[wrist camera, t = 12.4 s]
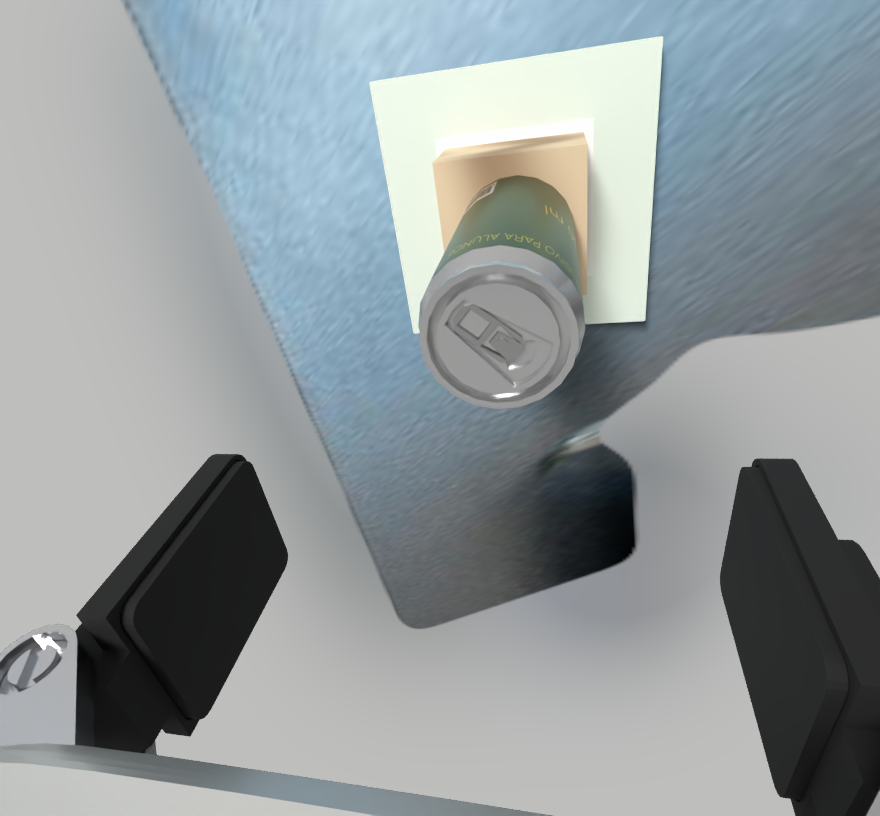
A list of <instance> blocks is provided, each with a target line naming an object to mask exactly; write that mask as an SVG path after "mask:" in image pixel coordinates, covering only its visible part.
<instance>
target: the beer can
mask: <svg viewBox="0 0 880 816" xmlns="http://www.w3.org/2000/svg"><path fill="white" fill-rule="evenodd" d="M418 327H419V331H420V335H419V342H420V346H421V350H422V354H423V358H424V362H425V363H426V365H427V366H428V368H429V369H430V371H431V373H432V374H433V376H434V377H435V379H436V380H437V381H438V382H439V383H440V384H441V385H442V386H444V387H445V388H446V389H447V390H448V391H449V392H451V393H452V394H453V395H455V396H457V397H459V398H461V399H463V400H465V401H467V402H469V403H472V404H474V405H478V406H484V407H490V408H495V409H501V408H512V407H521V406H524V405H526V404H529V403H532V402H534V401H537V400H540V399H542V398H543V397H545V396H546V395H547V394H549V393H550V392H551V391H553V390H554V389H555V388H557V387H558V386H559V385H560V384H561V383H562V381H563V380H564V379H565V377H566V376H567V374H568V373H569V371H570V370H571V368H572V367H573V365H574V361H575V358H576V357H577V355H578V354H579V351H580V348H581V344H582V340H583V337H584V333H585V320H584V308H583V298H582V289H581V280H580V272H579V263H578V254H577V245H576V236H575V228H574V219H573V215H572V213H571V210H570V208H569V206H568V204H567V201H566V200H565V198H564V197H563V196H562V195H561V194H560V193H559V192H558V191H557V190H556V189H555V188H554V187H553V186H552V185H550V184H548V183H546V182H544V181H542V180H540V179H538V178H535V177H528V176H521V175H515V176H510V177H505V178H499V179H497V180H496V181H494V182H492V183H490V184H489V185H487V186H485V187H483V188H482V189H481V190H480V191H479V192H478V193H477V195H476V196H475V197H474V198H473V199H472V200H471V201H470V203H469V205H468V207H467V209H466V211H465V213H464V215H463V217H462V219H461V221H460V223H459V225H458V227H457V229H456V231H455V233H454V235H453V237H452V239H451V241H450V242H449V244H448V246H447V248H446V250H445V252H444V254H443V256H442V258H441V260H440V262H439V264H438V266H437V268H436V270H435V272H434V274H433V276H432V278H431V280H430V283H429V285H428V287H427V289H426V291H425V294H424V296H423V298H422V300H421V302H420V312H419V323H418Z"/></svg>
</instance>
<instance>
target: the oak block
mask: <svg viewBox="0 0 880 816" xmlns="http://www.w3.org/2000/svg"><path fill="white" fill-rule="evenodd" d="M587 152H588V144H587V141H586V138H585V135H584V132H577V133H569V134H561V135H553V136H545V137H537V138H529V139H521V140H513V141H505V142H497V143H489V144H481V145H473V146H465V147H457V148H449V149H445V150H444V151H443V152H442V153H441V154H440V155H439V157H438V158H437V159H436V160H435V161H434V162H433V163H432V165H433V172H434V180H435V187H436V195H437V202H438V210H439V217H440V224H441V232H442V239H443V247H444V252H445V250H446V248H447V246H448V244H449V242H450V241H451V239H452V237H453V235H454V233H455V231H456V229H457V227H458V225H459V223H460V221H461V219H462V217H463V215H464V213H465V211H466V209H467V207H468V205H469V203H470V201H471V200H472V199H473V198H474V197H475V196H476V195H477V193H478V192H479V191H480V190H481V189H482V188H483V187H485V186H487V185H489V184H490V183H492V182H494V181H496V180H497V179H499V178H505V177H510V176H515V175H521V176H528V177H535V178H538V179H540V180H542V181H544V182H546V183H548V184H550V185H552V186H553V187H554V188H555V189H556V190H557V191H558V192H559V193H560V194H561V195H562V196H563V197H564V198H565V200H566V201H567V204H568V206H569V208H570V210H571V213H572V215H573V219H574V228H575V236H576V245H577V254H578V263H579V272H580V280H581V289H582V295H587Z"/></svg>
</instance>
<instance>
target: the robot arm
mask: <svg viewBox="0 0 880 816" xmlns="http://www.w3.org/2000/svg"><path fill="white" fill-rule="evenodd" d="M287 560H288V553H287V549H286V546H285V544H284V541H283V539H282V536H281V534H280V531H279V529H278V526H277V524H276V521H275V519H274V517H273V514H272V511H271V509H270V507H269V504H268V502H267V499H266V497H265V495H264V492H263V489H262V487H261V484H260V482H259V479H258V477H257V475H256V472H255V470H254V467H253V465H252V464H251V463H250V462H248V461H246V459H245V458H244V457H243V456H242V455H237V454H215V455H212V456H211V457H209V458H208V459H207V461H206V462H205V463H204V464H203V465H202V467H201V468H200V469H199V470H198V471H197V472H196V474H195V475H194V476H193V477H192V478H191V480H190V481H189V482H188V483H187V484H186V486H185V487H184V488H183V489H182V490H181V492H180V493H179V494H178V495H177V496H176V497H175V499H174V500H173V501H172V502H171V503H170V505H169V506H168V507H167V508H166V509H165V510H164V512H163V513H162V514H161V515H160V517H159V518H158V519H157V520H156V521H155V522H154V524H153V525H152V526H151V527H150V528H149V529H148V531H147V532H146V533H145V534H144V535H143V537H142V538H141V539H140V540H139V541H138V542H137V544H136V545H135V546H134V547H133V548H132V550H131V551H130V552H129V553H128V555H127V556H126V557H125V558H124V559H123V560H122V561H121V563H120V564H119V565H118V566H117V567H116V569H115V570H114V571H113V572H112V573H111V575H110V576H109V577H108V578H107V579H106V581H105V582H104V583H103V584H102V585H101V586H100V588H99V589H98V590H97V591H96V592H95V594H94V595H93V596H92V597H91V598H90V599H89V601H88V602H87V603H86V604H85V605H84V607H83V608H82V609H81V610H80V611H79V613H78V614H77V617H78V618H79V620H80V621H81V622H82V624H81V625H80V626H79V627H78V629H77V630H76V631H75V630H73V629H72V628H71V627H70V626H67V625H62V624H55V625H47V626H45V627H42V628H39V629H36V630H33V631H31V632H30V633H28V634H26V635H24V636H22V637H20V638H19V639H18V640H16V641H15V642H13V643H12V644H11V645H9V646H8V647H7V648H5V649H4V650H3V651H2V652H1V653H0V816H551V815H544V814H538V813H532V812H526V811H520V810H513V809H507V808H501V807H494V806H488V805H482V804H475V803H469V802H462V801H457V800H450V799H444V798H437V797H431V796H424V795H418V794H411V793H404V792H398V791H392V790H385V789H379V788H372V787H366V786H359V785H352V784H346V783H340V782H333V781H326V780H320V779H313V778H307V777H300V776H294V775H287V774H281V773H274V772H267V771H261V770H253V769H247V768H240V767H233V766H227V765H219V764H213V763H206V762H200V761H193V760H186V759H179V758H173V757H165V756H159V755H157V754H156V745H155V739H156V738H157V736H158V734H159V732H160V730H161V729H163V730H164V732H165V733H169V734H176V735H184V736H191V734H192V732H193V730H194V729H195V727H196V725H197V723H198V721H199V719H203V718H204V717H205V716H206V715H207V714H208V713H209V711H210V710H211V708H212V706H213V704H214V702H215V701H216V699H217V697H218V695H219V693H220V691H221V689H222V687H223V685H224V683H225V682H226V680H227V678H228V676H229V674H230V672H231V670H232V668H233V666H234V665H235V663H236V661H237V659H238V657H239V655H240V653H241V651H242V649H243V647H244V645H245V643H246V642H247V640H248V638H249V636H250V634H251V632H252V630H253V628H254V627H255V625H256V623H257V621H258V619H259V617H260V615H261V613H262V611H263V609H264V608H265V605H266V604H267V602H268V600H269V598H270V596H271V594H272V592H273V590H274V589H275V587H276V585H277V583H278V581H279V579H280V577H281V575H282V573H283V571H284V570H285V567H286V564H287ZM720 585H721V592H722V596H723V600H724V604H725V607H726V611H727V614H728V618H729V622H730V625H731V629H732V633H733V636H734V640H735V643H736V647H737V651H738V655H739V658H740V662H741V666H742V669H743V673H744V676H745V680H746V684H747V688H748V691H749V695H750V699H751V702H752V705H753V710H754V713H755V717H756V720H757V724H758V728H759V731H760V735H761V739H762V743H763V746H764V749H765V754H766V757H767V761H768V764H769V768H770V772H771V775H772V779H773V782H774V786H775V789H776V790H777V793H778V794H779V796H780V797H783V798H790V799H791V802H792V805H793V809H794V812H795V815H796V816H880V579H879V577H878V575H877V573H876V571H875V570H874V568H873V566H872V564H871V563H870V561H869V559H868V557H867V556H866V554H865V552H864V551H863V549H862V548H861V547H860V545H859V544H857V543H856V542H854V541H853V540H838V539H837V537H836V535H835V533H834V531H833V529H832V527H831V525H830V523H829V522H828V520H827V518H826V516H825V514H824V512H823V510H822V508H821V507H820V505H819V503H818V501H817V499H816V497H815V495H814V493H813V492H812V490H811V488H810V486H809V484H808V482H807V480H806V479H805V476H804V475H803V473H802V471H801V469H800V467H799V465H798V464H797V462H796V461H795V460H793V459H755V460H754V461H753V463H752V467H742V468H741V470H740V474H739V479H738V484H737V489H736V494H735V500H734V505H733V510H732V516H731V520H730V525H729V531H728V536H727V541H726V546H725V552H724V557H723V562H722V567H721V574H720Z"/></svg>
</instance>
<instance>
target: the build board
mask: <svg viewBox="0 0 880 816" xmlns="http://www.w3.org/2000/svg"><path fill="white" fill-rule="evenodd" d="M662 46H663V36H659V37H653V38H646V39H640V40H633V41H627V42H621V43H614V44H608V45H601V46H595V47H589V48H582V49H576V50H569V51H563V52H557V53H550V54H544V55H537V56H531V57H525V58H518V59H512V60H505V61H499V62H492V63H486V64H480V65H473V66H467V67H460V68H454V69H448V70H441V71H435V72H428V73H422V74H416V75H409V76H403V77H396V78H390V79H384V80H377V81H372V82H369V84H370V89H371V95H372V101H373V106H374V112H375V118H376V123H377V129H378V135H379V140H380V146H381V152H382V157H383V163H384V168H385V174H386V180H387V185H388V191H389V197H390V202H391V208H392V214H393V219H394V225H395V231H396V236H397V242H398V247H399V253H400V259H401V264H402V270H403V276H404V281H405V287H406V293H407V298H408V304H409V310H410V315H411V321H412V327H413V332H414V334H415V333H420V331H419V327H418V323H419V312H420V302H421V300H422V298H423V296H424V294H425V291H426V289H427V287H428V285H429V283H430V280H431V278H432V276H433V274H434V272H435V270H436V268H437V266H438V264H439V262H440V260H441V258H442V256H443V254H444V247H443V239H442V232H441V224H440V217H439V210H438V202H437V195H436V187H435V180H434V172H433V165H432V163H433V162H434V161H435V160H436V159H437V158H438V157H439V155H440V154H441V153H442V152H443V151H444V150H445V149H449V148H457V147H465V146H473V145H481V144H489V143H497V142H505V141H513V140H521V139H529V138H537V137H545V136H553V135H561V134H569V133H577V132H584V135H585V138H586V141H587V144H588V152H587V295H582V298H583V308H584V320H585V324H600V323H618V322H637V321H645V315H646V299H647V283H648V267H649V252H650V236H651V220H652V204H653V189H654V173H655V157H656V141H657V125H658V110H659V94H660V78H661V62H662Z"/></svg>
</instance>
